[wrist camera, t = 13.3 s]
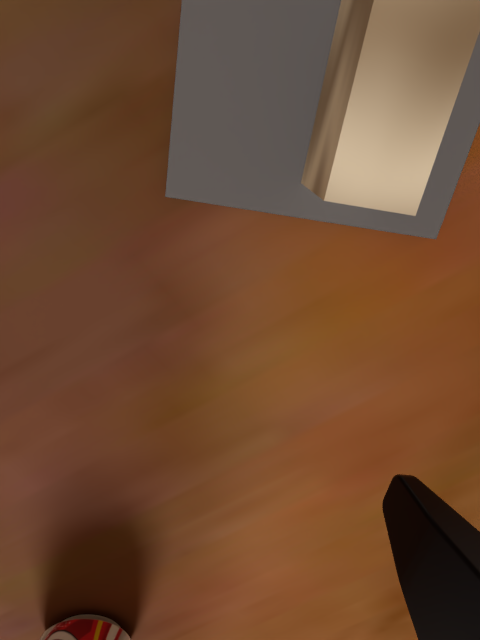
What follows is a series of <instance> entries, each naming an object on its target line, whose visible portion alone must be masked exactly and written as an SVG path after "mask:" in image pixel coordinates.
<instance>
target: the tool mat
mask: <svg viewBox="0 0 480 640" xmlns="http://www.w3.org/2000/svg"><path fill="white" fill-rule="evenodd" d="M340 4H341V0H182V6H181V18H180V30H179V42H178V53H177V65H176V77H175V89H174V101H173V112H172V124H171V136H170V148H169V160H168V172H167V183H166V195H165V197H171V198H177V199H183V200H190V201H196V202H202V203H209V204H215V205H221V206H228V207H234V208H241V209H247V210H253V211H260V212H266V213H272V214H279V215H285V216H291V217H298V218H304V219H310V220H317V221H323V222H330V223H336V224H342V225H349V226H355V227H361V228H368V229H374V230H380V231H387V232H393V233H399V234H406V235H412V236H418V237H425V238H431V239H436V238H437V235H438V233H439V230H440V227H441V225H442V222H443V219H444V217H445V214H446V211H447V209H448V206H449V203H450V201H451V198H452V195H453V193H454V190H455V187H456V185H457V182H458V179H459V177H460V174H461V171H462V169H463V166H464V163H465V161H466V158H467V155H468V153H469V150H470V148H471V145H472V142H473V140H474V137H475V134H476V132H477V129H478V126H479V124H480V32H479V35H478V37H477V40H476V43H475V46H474V49H473V52H472V55H471V58H470V60H469V63H468V66H467V69H466V72H465V75H464V78H463V81H462V83H461V86H460V89H459V92H458V95H457V98H456V101H455V104H454V107H453V109H452V112H451V115H450V118H449V121H448V124H447V127H446V130H445V132H444V135H443V138H442V141H441V144H440V147H439V150H438V153H437V155H436V158H435V161H434V164H433V167H432V170H431V173H430V176H429V178H428V181H427V184H426V187H425V190H424V193H423V196H422V199H421V202H420V204H419V207H418V210H417V213H416V216H412V215H406V214H400V213H394V212H388V211H382V210H376V209H370V208H364V207H358V206H352V205H346V204H340V203H334V202H328V201H324V200H322V199H321V198H320V197H318V196H317V195H316V194H314V193H313V192H312V191H310V190H309V189H308V188H307V187H305V186H304V185H303V184H301V180H302V176H303V171H304V167H305V162H306V158H307V153H308V149H309V144H310V140H311V135H312V131H313V126H314V122H315V117H316V112H317V108H318V103H319V99H320V94H321V90H322V85H323V81H324V76H325V72H326V67H327V63H328V58H329V54H330V49H331V45H332V40H333V36H334V31H335V27H336V22H337V18H338V13H339V8H340Z"/></svg>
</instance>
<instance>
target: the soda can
mask: <svg viewBox="0 0 480 640" xmlns="http://www.w3.org/2000/svg"><path fill="white" fill-rule="evenodd" d="M40 640H131V639H130V637H129V635H128V634H127V633H126V632H125V631H124V630H123V629H122V628H120V626H119V625H118V624H117V623H116V622H114V621H113V620H111V619H109V618H106V617H103V616H99V615H91V614H84V615H76V616H72V617H69V618H67V619H65V620H63V621H62V622H60V623H57V624H55V625H53V626H52V627H50V628H49V629H47V630H46V631H45V632H44V633H43V635H42V637H41V639H40Z"/></svg>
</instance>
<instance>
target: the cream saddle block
mask: <svg viewBox="0 0 480 640" xmlns="http://www.w3.org/2000/svg"><path fill="white" fill-rule="evenodd" d="M479 32H480V0H341V4H340V8H339V13H338V18H337V22H336V27H335V31H334V36H333V40H332V45H331V49H330V54H329V58H328V63H327V67H326V72H325V76H324V81H323V85H322V90H321V94H320V99H319V103H318V108H317V112H316V117H315V122H314V126H313V131H312V135H311V140H310V144H309V149H308V153H307V158H306V162H305V167H304V171H303V176H302V180H301V184H303V185H304V186H305V187H307V188H308V189H309V190H310V191H312V192H313V193H314V194H316V195H317V196H318V197H320V198H321V199H322V200H324V201H328V202H334V203H340V204H346V205H352V206H358V207H364V208H370V209H376V210H382V211H388V212H394V213H400V214H406V215H412V216H416V213H417V210H418V207H419V204H420V202H421V199H422V196H423V193H424V190H425V187H426V184H427V181H428V178H429V176H430V173H431V170H432V167H433V164H434V161H435V158H436V155H437V153H438V150H439V147H440V144H441V141H442V138H443V135H444V132H445V130H446V127H447V124H448V121H449V118H450V115H451V112H452V109H453V107H454V104H455V101H456V98H457V95H458V92H459V89H460V86H461V83H462V81H463V78H464V75H465V72H466V69H467V66H468V63H469V60H470V58H471V55H472V52H473V49H474V46H475V43H476V40H477V37H478V35H479Z"/></svg>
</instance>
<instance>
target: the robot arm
mask: <svg viewBox="0 0 480 640" xmlns="http://www.w3.org/2000/svg"><path fill="white" fill-rule="evenodd" d="M383 514H384V518H385V522H386V527H387V531H388V535H389V540H390V544H391V548H392V553H393V557H394V561H395V566H396V570H397V574H398V578H399V582H400V585H401V588H402V592H403V595H404V598H405V601H406V604H407V607H408V610H409V613H410V616H411V619H412V622H413V625H414V628H415V631H416V634H417V637H418V640H480V532H479V531H478V530H477V529H476V528H475V527H473V526H472V525H471V524H470V523H469V522H468V521H466V520H465V519H464V518H463V517H462V516H461V515H459V514H458V513H457V512H456V511H455V510H454V509H452V508H451V507H450V506H449V505H448V504H447V503H445V502H444V501H443V500H442V499H441V498H440V497H438V496H437V495H436V494H435V493H434V492H433V491H431V490H430V489H429V488H428V487H427V486H426V485H424V484H423V483H422V482H421V481H420V480H419V479H417V478H416V477H414V476H412V475H400V474H398V475H395V476H394V477H393V479H392V481H391V483H390V485H389V488H388V490H387V492H386V495H385V497H384V499H383Z"/></svg>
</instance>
